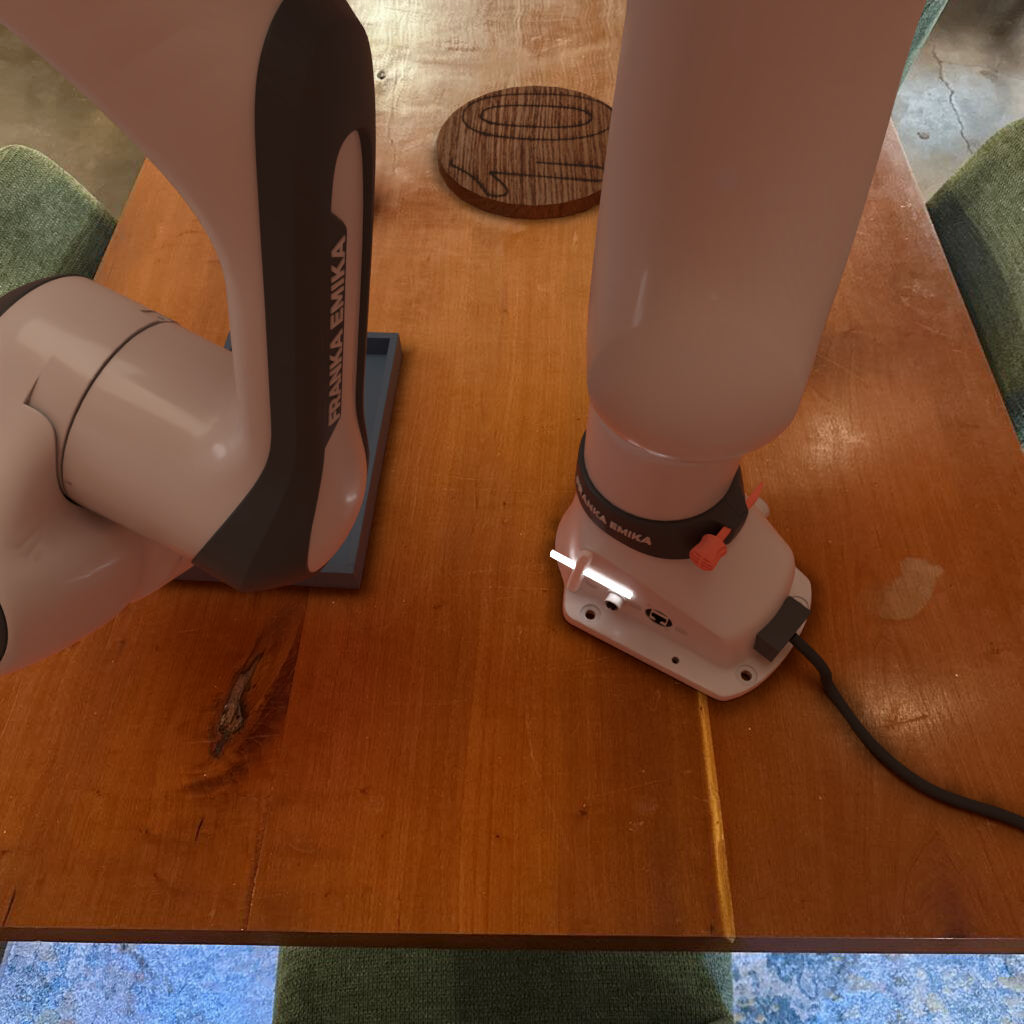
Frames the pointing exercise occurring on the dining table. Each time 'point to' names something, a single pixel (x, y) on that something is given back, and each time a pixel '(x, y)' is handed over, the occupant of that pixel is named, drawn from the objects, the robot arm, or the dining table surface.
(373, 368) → the tray
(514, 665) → the dining table surface
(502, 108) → the trivet
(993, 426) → the dining table surface
